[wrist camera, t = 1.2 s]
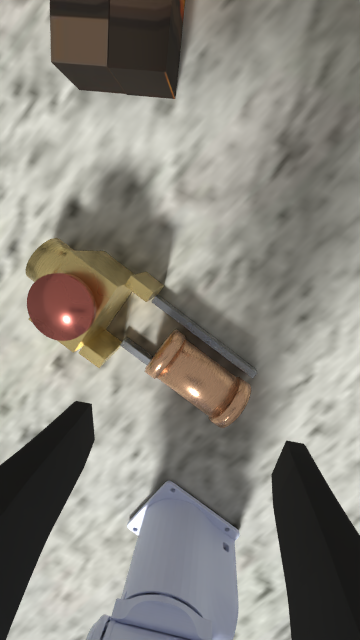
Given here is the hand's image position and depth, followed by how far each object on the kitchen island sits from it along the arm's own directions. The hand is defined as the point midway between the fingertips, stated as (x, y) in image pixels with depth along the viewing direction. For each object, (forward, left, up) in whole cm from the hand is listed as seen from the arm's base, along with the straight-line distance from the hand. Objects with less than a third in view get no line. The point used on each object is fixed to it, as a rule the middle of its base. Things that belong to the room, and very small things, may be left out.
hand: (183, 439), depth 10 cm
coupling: (-2, +3, -15) cm, 15 cm away
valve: (+9, +3, -15) cm, 18 cm away
